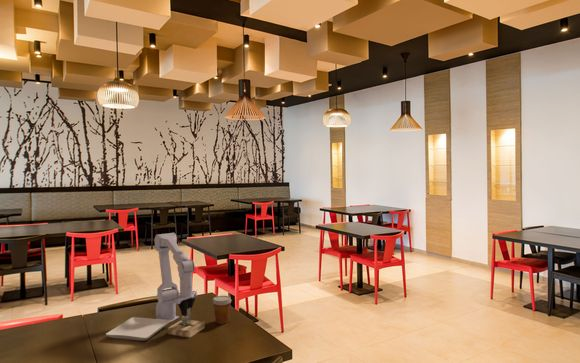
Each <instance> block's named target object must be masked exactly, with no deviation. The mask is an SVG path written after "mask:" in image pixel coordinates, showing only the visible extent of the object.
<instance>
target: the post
mask: <svg viewBox="0 0 580 363" xmlns="http://www.w3.org/2000/svg"><path fill="white" fill-rule="evenodd" d="M181 320H182V324H189V323H190V322H191V320H192V310H191V307H188V308H187V315H186V316H182V315H181Z"/></svg>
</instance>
